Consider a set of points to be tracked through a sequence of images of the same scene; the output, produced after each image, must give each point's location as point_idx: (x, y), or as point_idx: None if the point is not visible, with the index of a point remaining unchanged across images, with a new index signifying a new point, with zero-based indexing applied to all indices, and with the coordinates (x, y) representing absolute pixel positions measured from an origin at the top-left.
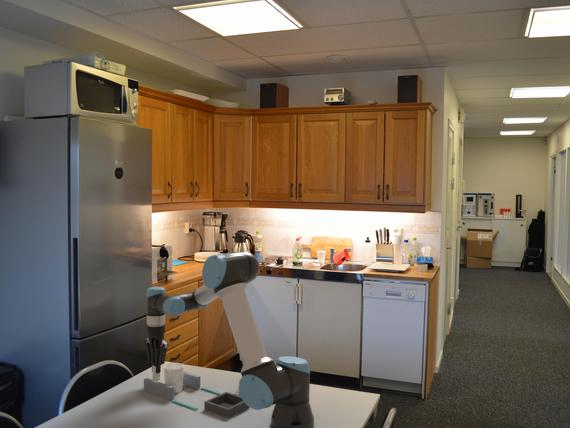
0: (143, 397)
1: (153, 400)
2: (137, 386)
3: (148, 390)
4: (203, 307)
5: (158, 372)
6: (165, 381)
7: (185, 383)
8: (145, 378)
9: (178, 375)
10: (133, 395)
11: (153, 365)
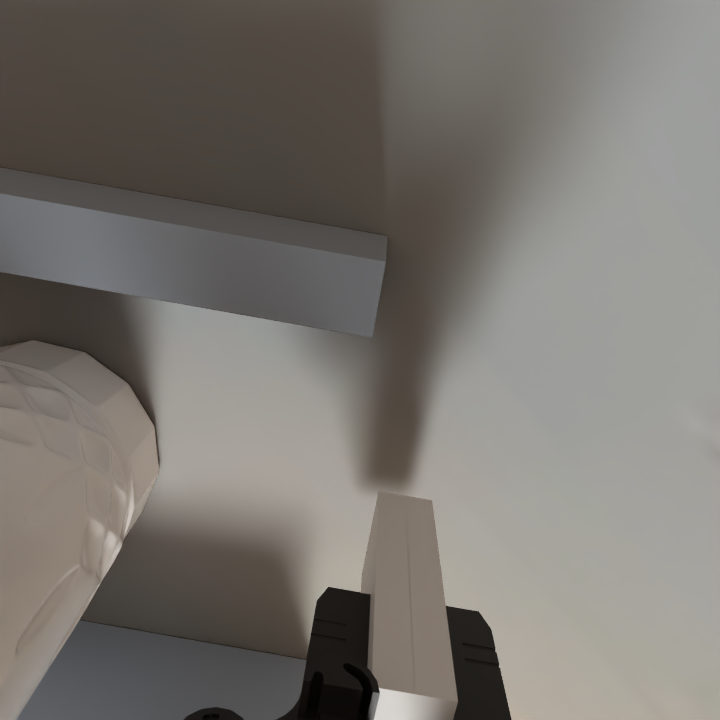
0: (219, 30)
1: (4, 10)
2: (592, 338)
3: (272, 218)
4: None
5: (318, 609)
6: (8, 405)
7: None
8: (371, 301)
9: None
10: (416, 15)
11: (432, 705)
